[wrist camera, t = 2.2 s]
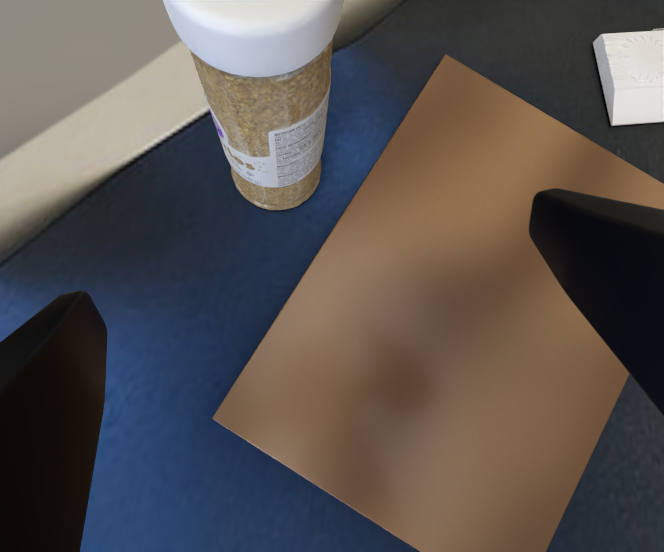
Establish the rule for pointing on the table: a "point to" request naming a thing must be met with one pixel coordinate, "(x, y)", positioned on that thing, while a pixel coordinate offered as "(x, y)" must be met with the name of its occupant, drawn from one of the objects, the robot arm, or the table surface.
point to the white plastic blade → (632, 76)
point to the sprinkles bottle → (264, 87)
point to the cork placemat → (444, 332)
